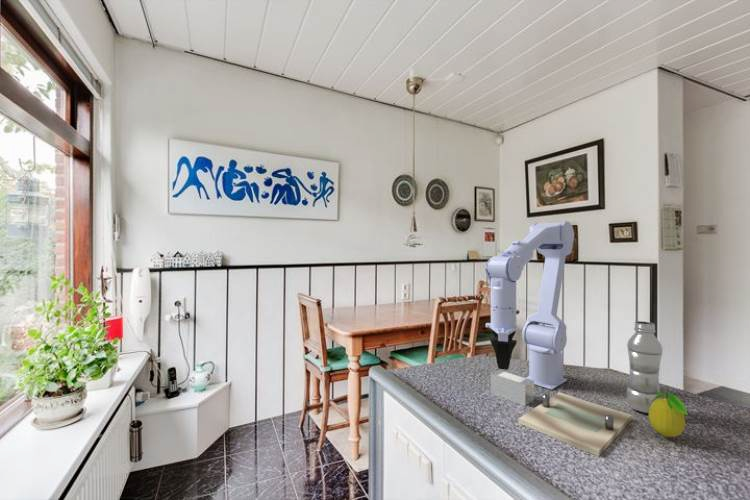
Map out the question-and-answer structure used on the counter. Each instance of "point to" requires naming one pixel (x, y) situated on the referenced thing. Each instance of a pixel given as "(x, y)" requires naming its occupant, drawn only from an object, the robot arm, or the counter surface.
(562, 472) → the counter surface
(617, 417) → the pin tray
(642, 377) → the plastic bottle
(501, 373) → the block
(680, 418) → the lemon
